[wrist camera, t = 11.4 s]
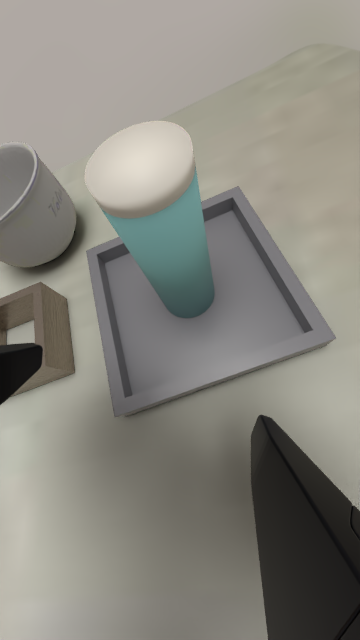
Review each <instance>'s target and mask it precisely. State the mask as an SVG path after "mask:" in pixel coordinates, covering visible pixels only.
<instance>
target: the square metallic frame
mask: <svg viewBox="0 0 360 640" xmlns="http://www.w3.org/2000/svg"><path fill="white" fill-rule="evenodd" d="M33 319H34V328H35V344H38V345H41V346H42V348H43V357H42V365H41V368H40V369H39V370H38V371H37V372H36V373H35V374H34V375H33V376H32V377H31V378H30V379H29V380H28V381H27V382H25V383H24V384H23V385H22V386H21V387H20V388H19V389H18V390H17V391H16V392H15V393H14V394H13V395H12V396H15V395H17V394H20V393H22V392H25V391H28V390H30V389H33V388H36V387H38V386H41V385H44V384H46V383H49V382H52V381H54V380H57V379H59V378H62V377H65V376H67V375H70V374H73V373H75V369H74V360H73V351H72V342H71V333H70V324H69V315H68V306H67V299H66V298H64V297H63V296H61V295H60V294H58V293H57V292H55V291H54V290H52V289H51V288H49V287H48V286H46V285H45V284H43V283H42V282H39V283H37V284H34V285H32V286H29V287H27V288H25V289H22V290H20V291H18V292H15V293H13V294H10V295H8V296H6V297H3V298H1V299H0V345H6V330H8V329H11V328H13V327H15V326H18V325H20V324H23V323H25V322H28V321H30V320H33ZM12 396H11V397H12Z"/></svg>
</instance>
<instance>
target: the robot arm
mask: <svg viewBox="0 0 360 640" xmlns="http://www.w3.org/2000/svg"><path fill="white" fill-rule="evenodd" d="M42 357H43V348H42V346H41V345H38V344H35V343H24V344H10V345H0V405H1V404H2V403H3V402H5V401H6V400H7V399H8V398H9V397H11V396H12V395H13V394H14V393H15V392H16V391H17V390H18V389H19V388H20V387H21V386H22V385H23V384H24V383H25V382H27V381H28V380H29V379H30V378H31V377H32V376H33V375H34V374H35V373H36V372H37V371H38V370H39V369H40V368H41V365H42ZM251 487H252V496H253V505H254V515H255V524H256V533H257V542H258V551H259V560H260V569H261V578H262V587H263V597H264V606H265V615H266V624H267V633H268V640H360V511H359V510H358V509H357V508H356V507H355V506H352V503H351V502H350V501H349V499H348V498H347V497H346V496H345V495H344V494H343V493H342V492H341V491H340V490H339V489H338V488H337V487H336V486H335V485H334V484H333V483H332V482H331V480H330V479H329V478H328V477H327V476H326V475H325V474H324V473H323V472H322V471H321V470H320V469H319V468H318V467H317V466H316V465H315V464H314V463H313V461H312V460H311V459H310V458H309V457H308V456H307V455H306V454H305V453H304V452H303V451H302V450H301V449H300V448H299V447H298V446H297V445H296V444H295V442H294V441H293V440H292V439H291V438H290V437H289V436H288V435H287V434H286V433H285V432H284V431H283V430H282V429H281V428H280V427H279V426H278V425H277V424H276V422H275V421H274V420H273V419H272V418H270V417H267V416H264V415H259V416H258V418H257V421H256V423H255V426H254V429H253V431H252V434H251Z"/></svg>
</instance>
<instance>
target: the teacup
mask: <svg viewBox="0 0 360 640" xmlns="http://www.w3.org/2000/svg"><path fill="white" fill-rule="evenodd" d="M75 226H76V211H75V207H74V204H73V202H72V200H71V198H70V197H69V195H68V194H67V192H66V191H65V189H64V188H63V187H62V185H61V184H60V183H59V182H58V180H57V179H56V178H55V176H54V175H53V174H52V173H51V172H50V170H49V169H48V168H47V167H46V166H45V165H44V163H43V162H42V161H41V160H40V158H39V157H38V155H37V153H36V152H35V150H34V149H33V148H32V147H31V146H30V145H28V144H26V143H22V142H8V143H4V144H0V261H2V262H4V263H7V264H9V265H13V266H17V267H33V266H38V265H41V264H43V263H46V262H49V261H51V260H53V259H55V258H57V257H58V256H59V255H61V254H62V253H63V252H64V251H65V250H66V248H67V247H68V246H69V244H70V242H71V240H72V238H73V235H74V230H75Z"/></svg>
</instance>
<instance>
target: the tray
mask: <svg viewBox="0 0 360 640" xmlns="http://www.w3.org/2000/svg"><path fill="white" fill-rule="evenodd" d="M201 206H202V212H203V219H204V225H205V232H206V238H207V245H208V251H209V258H210V264H211V271H212V277H213V284H214V291H215V294H214V299H213V302H212V304H211V306H210V307H209V308H208V309H207V310H206V311H205V312H204V313H202V314H201V315H199V316H196V317H193V318H180V317H177V316H175V315H173V314H172V313H171V312H169V310H168V309H167V308H166V306H165V305H164V303H163V302H162V300H161V299H160V297H159V296H158V294H157V293H156V291H155V290H154V288H153V287H152V285H151V284H150V282H149V281H148V279H147V278H146V276H145V275H144V273H143V271H142V270H141V268H140V267H139V265H138V264H137V262H136V261H135V259H134V258H133V256H132V255H131V253H130V252H129V250H128V249H127V247H126V246H125V244H124V243H123V241H122V240H121V238H120V237H117V238H115V239H113V240H110V241H108V242H106V243H103V244H101V245H99V246H96V247H94V248H92V249H89V250H87V251H86V253H87V258H88V264H89V270H90V276H91V282H92V288H93V293H94V299H95V305H96V311H97V317H98V323H99V328H100V334H101V340H102V346H103V352H104V358H105V363H106V369H107V375H108V381H109V387H110V392H111V398H112V404H113V410H114V416H115V417H120V416H128V415H131V414H134V413H137V412H140V411H143V410H145V409H148V408H151V407H154V406H157V405H159V404H162V403H165V402H168V401H171V400H174V399H176V398H179V397H182V396H185V395H188V394H191V393H193V392H196V391H199V390H202V389H205V388H207V387H210V386H213V385H216V384H219V383H222V382H224V381H227V380H230V379H233V378H236V377H239V376H241V375H244V374H247V373H250V372H253V371H255V370H258V369H261V368H264V367H267V366H270V365H272V364H275V363H278V362H281V361H284V360H287V359H289V358H292V357H295V356H298V355H301V354H304V353H306V352H309V351H312V350H315V349H318V348H320V347H323V346H326V345H327V344H329V343H330V342H331V341H333V340H334V339H336V337H335V335H334V334H333V332H332V331H331V329H330V327H329V326H328V324H327V323H326V321H325V320H324V318H323V317H322V315H321V313H320V312H319V310H318V309H317V307H316V306H315V304H314V303H313V301H312V299H311V298H310V296H309V295H308V293H307V292H306V290H305V289H304V287H303V285H302V284H301V282H300V281H299V279H298V278H297V276H296V275H295V273H294V272H293V270H292V268H291V267H290V265H289V264H288V262H287V261H286V259H285V258H284V256H283V254H282V253H281V251H280V250H279V248H278V247H277V245H276V244H275V242H274V240H273V239H272V237H271V236H270V234H269V233H268V231H267V230H266V228H265V226H264V225H263V223H262V222H261V220H260V219H259V217H258V216H257V214H256V213H255V211H254V209H253V208H252V206H251V205H250V203H249V202H248V200H247V199H246V197H245V195H244V194H243V192H242V191H241V189H240V188H239V186H237V187H235V188H233V189H230V190H228V191H226V192H223V193H221V194H219V195H216V196H214V197H212V198H209V199H207V200H204V201H202V202H201Z"/></svg>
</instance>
